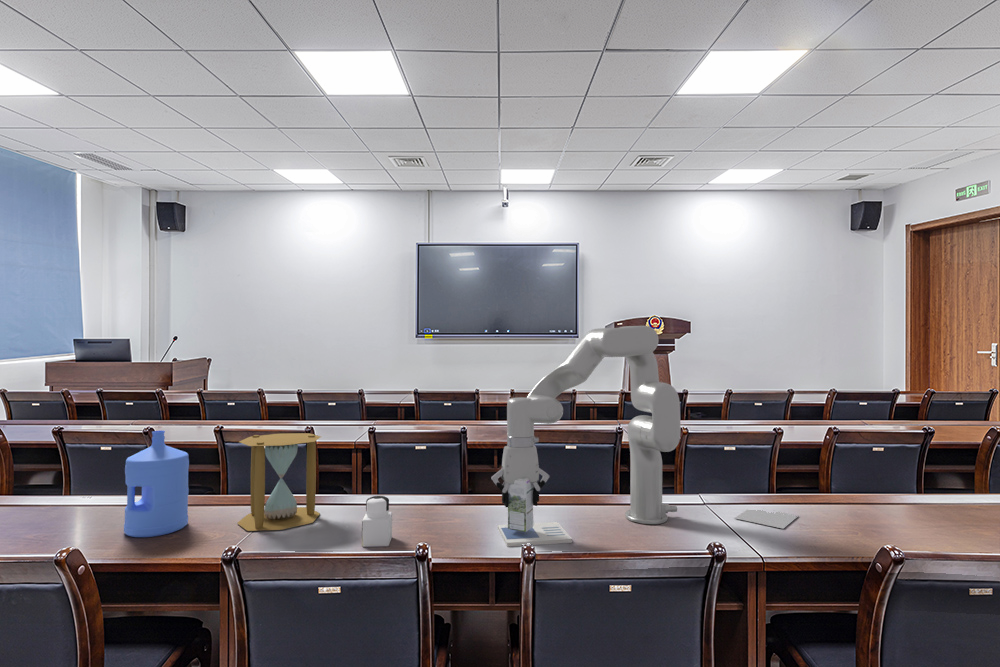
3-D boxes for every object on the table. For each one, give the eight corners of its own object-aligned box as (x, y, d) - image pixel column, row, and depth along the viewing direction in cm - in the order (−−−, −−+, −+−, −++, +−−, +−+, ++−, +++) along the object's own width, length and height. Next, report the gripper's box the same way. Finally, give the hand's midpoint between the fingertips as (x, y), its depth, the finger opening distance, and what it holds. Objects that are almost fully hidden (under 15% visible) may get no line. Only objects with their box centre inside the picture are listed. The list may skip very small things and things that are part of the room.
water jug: (179, 516, 167) (181, 425, 167) (194, 529, 156) (196, 431, 156) (118, 528, 156) (120, 431, 156) (130, 543, 145) (132, 438, 145)
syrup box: (534, 526, 153) (533, 474, 153) (526, 532, 147) (526, 479, 147) (515, 523, 155) (515, 472, 155) (507, 529, 150) (506, 477, 150)
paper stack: (833, 524, 163) (833, 522, 163) (812, 547, 145) (812, 544, 145) (752, 508, 179) (752, 506, 179) (724, 526, 161) (724, 524, 161)
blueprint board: (557, 525, 160) (557, 521, 160) (572, 542, 146) (572, 538, 146) (497, 528, 157) (497, 525, 157) (506, 546, 143) (506, 542, 143)
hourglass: (235, 537, 149) (236, 446, 150) (238, 513, 170) (239, 434, 170) (324, 525, 159) (325, 440, 160) (317, 505, 179) (317, 429, 180)
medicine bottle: (365, 537, 149) (366, 494, 150) (392, 537, 150) (392, 493, 150) (361, 547, 142) (361, 501, 142) (388, 546, 143) (389, 501, 143)
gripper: (547, 438, 157) (547, 499, 156) (487, 440, 154) (487, 502, 153) (554, 443, 149) (554, 507, 149) (492, 445, 146) (491, 511, 146)
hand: (520, 504), depth 151 cm, fingers closed on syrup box, 7 cm apart
